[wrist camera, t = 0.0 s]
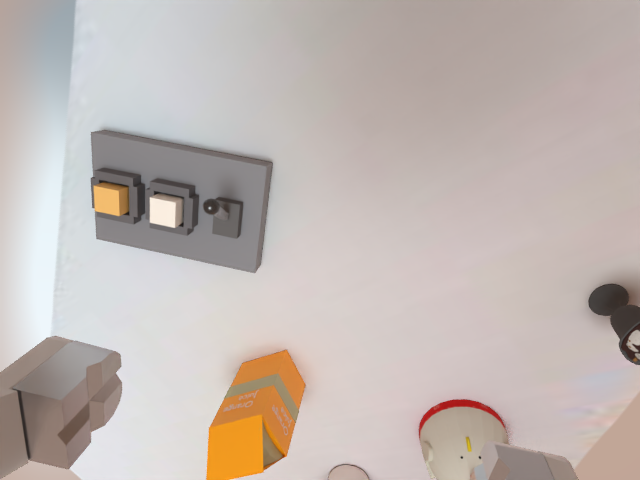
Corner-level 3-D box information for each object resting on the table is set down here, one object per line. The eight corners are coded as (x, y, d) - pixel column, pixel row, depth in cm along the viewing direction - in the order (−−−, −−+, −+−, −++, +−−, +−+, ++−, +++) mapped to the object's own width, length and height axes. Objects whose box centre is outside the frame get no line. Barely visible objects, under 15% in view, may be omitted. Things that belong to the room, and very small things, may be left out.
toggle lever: (219, 208, 55) (202, 195, 48) (233, 211, 55) (218, 198, 48) (215, 222, 55) (198, 211, 48) (229, 225, 54) (214, 214, 48)
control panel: (104, 130, 58) (80, 133, 53) (272, 162, 56) (262, 169, 52) (108, 232, 64) (87, 243, 59) (260, 264, 62) (250, 279, 57)
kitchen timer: (504, 398, 64) (538, 484, 50) (505, 462, 69) (535, 557, 55) (415, 400, 67) (424, 482, 53) (421, 462, 72) (430, 552, 58)
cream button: (159, 192, 56) (149, 197, 53) (183, 197, 55) (175, 202, 53) (158, 217, 57) (149, 222, 55) (183, 222, 57) (175, 227, 54)
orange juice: (306, 385, 69) (277, 494, 51) (261, 397, 72) (219, 505, 53) (286, 348, 67) (249, 448, 49) (241, 362, 69) (189, 462, 51)
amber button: (104, 181, 56) (93, 185, 54) (129, 186, 56) (118, 191, 54) (105, 206, 58) (94, 211, 55) (129, 211, 57) (119, 216, 55)
